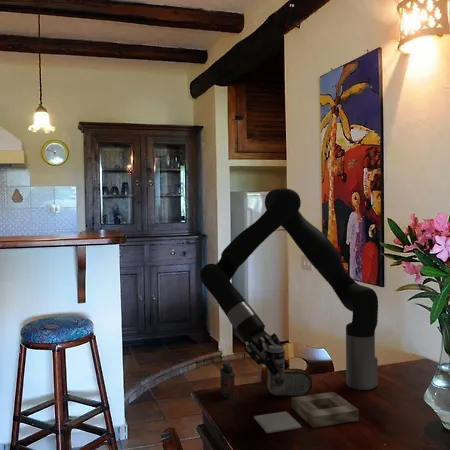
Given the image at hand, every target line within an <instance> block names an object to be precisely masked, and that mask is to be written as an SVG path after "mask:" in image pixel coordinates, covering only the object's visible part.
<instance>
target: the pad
mask: <svg viewBox="0 0 450 450" xmlns="http://www.w3.org/2000/svg"><path fill="white" fill-rule="evenodd" d="M253 419H254V420H255V421H256V422H257V423H258V425H259V426H260V427H261V428H262V429H263V430H264V432H265V433H266V434H272V433H278V432H284V431H285V432H286V431H290V430H291V431H292V430H296V429H302V425H301V423H299V422H298V421H297V420H296V419H295V418H294V417H292V415H291V414H290V413H289V412H287V411H286V410H285V411H279V412H274V413H266V414H259V415H254V416H253Z"/></svg>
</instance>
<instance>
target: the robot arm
mask: <svg viewBox="0 0 450 450" xmlns="http://www.w3.org/2000/svg"><path fill="white" fill-rule="evenodd" d="M301 203H302V201H301V198H300V194H298V192H297V191H296V190H293V189H291V188H274V189H272V190H269V192H268V193H267V194H266V196H265V198H264V207H265V211H264V213H263V214H262V215H260V217H259V218H258V219H257V220H255V221H254V222H253V223H252V224H251V225H249V226H248V227H246V228H245V229H243V231H241V232H240V233H239V234H238V235H236V237H235V238H233V240H231V242H230V243H229V244H228V245H226V247H225V248H224V249H223V250H222V252H221V254H220V259H219V260H218V262H217V263H208V264H205V265H204V266H203V267H202V268H201V270H200V271H199V272H200V273H199V277H200V281H201V283H202V284H203V286H204V287H205V288H206V289H207V291H208V292H209V293H210V294H211V295H212V297H213V298H214V299H215V301H216V302H217V304H218V305H219V307H220V309H221V310H222V311H223V313H224V314H225V316H226V317H227V319H228V321H229V322H230V324H231V326H232V327H233V329H235V332H236V333H237V334H238V336H239V337H240V339H242V341H243V342H244V343H248V344H247V345H246V346H245V347H244V349H243V350H244V351H245V352H246V354H248V356H249V357H250V358H251V359H252V360H253V361H254V362H255V363H256V364H257V365H259V366H260V365H263V366H265V368H266V369H267V368H268V370H269V371H270V373H271V374H272V375H273V376H275V375H276V374H277V373H279V369H278V368H277V366H276V365H275V364H274V362H273V361H272V360H270V356H269V354H268V347H269V346H270V345H281V346H283V345H282V343H281V341H280V339H279V337H278V335H277V334H276V333H272V334H269V333H267V332H266V330H265V328H266V325H265V324H264V321H262V319H261V318H260V316H258V314H257V313H256V312H255V310H254V309H253V307H252V306H251V305H250V303H249V304H248V302H247V300H246V299H245V298H244V297H243V295H242V294H241V293H240V291H239V290H238V289H236V288H235V286H234V285H233V284H232V282H231V280H232V278H234V275H236V272H237V271H238V269H239V268H240V267H241V266H242V265H243V264H244V263H245V262H246V260H247V259H249V257H250V256H251V255H252V254H253V253H254V252H255V251H256V250H257V249H258V248H259V246H261V244H263V243H264V242H265V241H266V240H267V239H268V238H269V237H270V236H271V235H272V234H273V233H274V232H275V231H277V229H279V228H280V227H282V228H283V229H284V231H286V233H287V234H288V235H289V236H290V238H291V239H292V240H293V241H294V243H295V244H296V246H297V247H298V248H299V250H300V251H301V252H302V254H303V255H304V256H305V258H306V259H307V260H308V262H310V264H311V265H312V266H313V267H314V268H315V270H316V271H317V272H318V273H319V274H320V276H321V277H322V278H323V279H324V280H325V281H326V282H327V283H328V284H329V286H330V287H331V288H332V289H333V292H334V293H335V294H336V296H337V298H338V300H339V301H340V302H341V304H342V305H343V307H345V309H346V310H348V311H349V312H352V317H351V322H349V323H347V324H346V326H345V372H346V373H345V383H346V386H347V387H348V388H351V389H353V390H359V391H368V390H373V389H374V388H376V387H378V375H379V373H378V372H379V371H378V369H379V368H378V364H379V363H378V361H379V360H378V357H376V335H375V333H376V328H377V327H378V316H379V297H378V295H377V293H376V291H375V290H374V289H373V288H370V287H369V286H365V285H361V284H359V283H358V282H356V281H355V280H354V278H352V277H351V275H350V274H349V273H348V272H347V271H346V268H345V266H344V263H343V260H342V257H341V254H340V252H339V251H338V249H337V248H336V246H335V245H334V244H333V242H331V240H330V239H329V238H328V237H327V236H326V234H324V233H323V231H321V230H320V229H318V228H317V227H316V226H314V225H313V224H312V223H311V222H310V221H308V219H306V218H305V217H304V216H303V214H302V213H301V212H300V209H301ZM289 367H290V364H289V362H288V361H287V359H286V358H285V370H286V369H289Z"/></svg>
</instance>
